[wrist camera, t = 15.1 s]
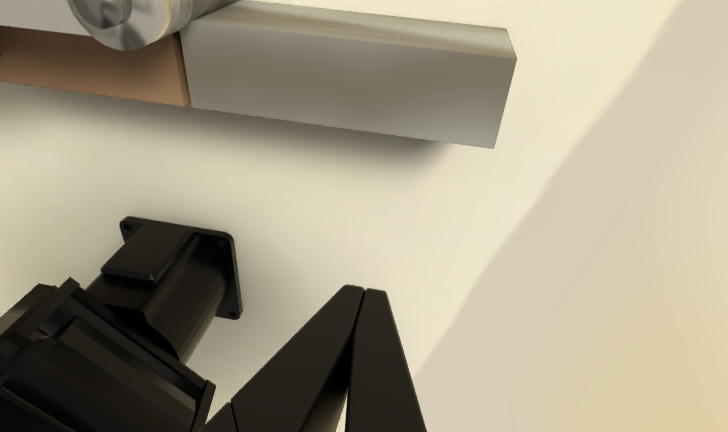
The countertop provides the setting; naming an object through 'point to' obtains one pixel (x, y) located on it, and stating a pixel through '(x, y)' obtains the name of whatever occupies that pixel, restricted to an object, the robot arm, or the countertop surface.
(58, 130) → the countertop surface
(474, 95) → the wooden block clamp
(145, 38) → the bar
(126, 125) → the countertop surface
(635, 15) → the countertop surface
